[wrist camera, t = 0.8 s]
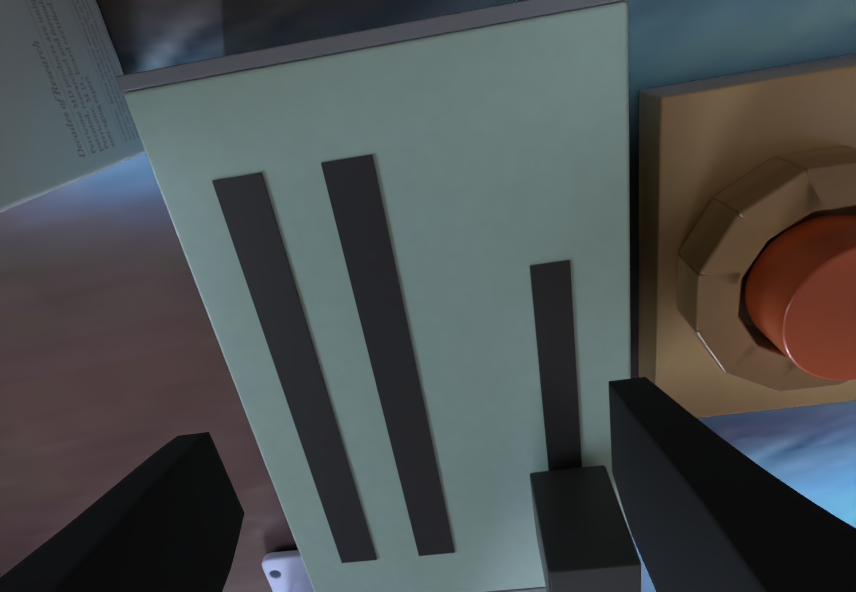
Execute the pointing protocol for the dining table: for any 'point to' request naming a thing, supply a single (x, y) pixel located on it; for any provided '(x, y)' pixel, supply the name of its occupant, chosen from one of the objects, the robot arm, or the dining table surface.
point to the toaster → (412, 274)
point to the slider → (583, 532)
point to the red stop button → (809, 295)
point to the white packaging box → (58, 98)
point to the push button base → (735, 224)
